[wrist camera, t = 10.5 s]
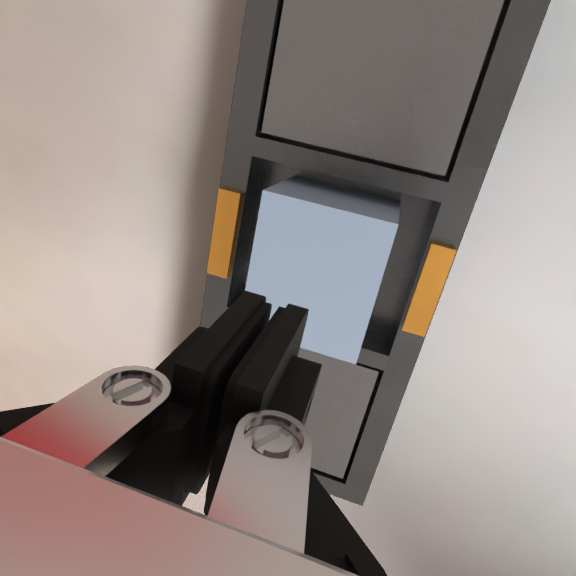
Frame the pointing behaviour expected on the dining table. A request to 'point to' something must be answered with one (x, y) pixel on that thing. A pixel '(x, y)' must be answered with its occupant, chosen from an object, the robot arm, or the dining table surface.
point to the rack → (369, 171)
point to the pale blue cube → (323, 259)
